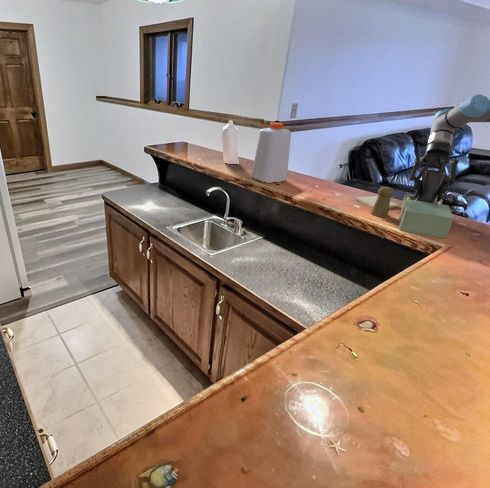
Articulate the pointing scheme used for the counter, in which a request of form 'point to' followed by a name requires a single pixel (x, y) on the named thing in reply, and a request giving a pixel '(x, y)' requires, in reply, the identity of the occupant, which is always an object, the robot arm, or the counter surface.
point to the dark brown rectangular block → (430, 186)
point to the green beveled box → (425, 218)
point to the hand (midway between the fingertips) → (427, 198)
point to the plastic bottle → (272, 154)
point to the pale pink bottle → (230, 143)
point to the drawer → (411, 197)
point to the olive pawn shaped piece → (382, 202)
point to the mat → (373, 201)
